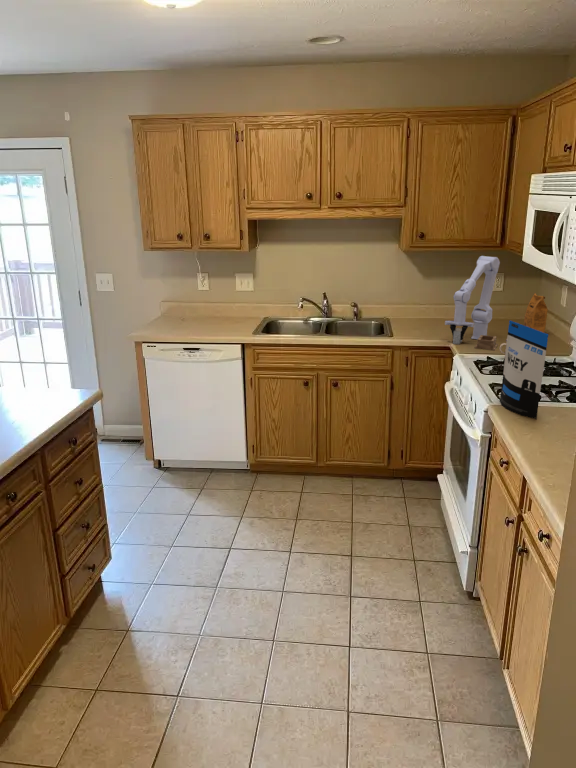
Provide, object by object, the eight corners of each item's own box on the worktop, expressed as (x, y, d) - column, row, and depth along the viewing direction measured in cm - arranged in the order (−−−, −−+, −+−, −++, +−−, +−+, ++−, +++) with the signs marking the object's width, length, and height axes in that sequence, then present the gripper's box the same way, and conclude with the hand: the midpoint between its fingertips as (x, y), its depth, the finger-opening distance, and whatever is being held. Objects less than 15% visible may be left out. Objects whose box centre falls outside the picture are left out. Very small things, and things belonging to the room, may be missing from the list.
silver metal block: (455, 340, 312) (456, 328, 310) (462, 341, 310) (463, 328, 308) (452, 343, 305) (453, 330, 303) (459, 344, 303) (460, 331, 301)
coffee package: (537, 330, 337) (542, 292, 330) (546, 335, 325) (552, 296, 318) (520, 330, 337) (525, 292, 330) (528, 335, 325) (534, 296, 318)
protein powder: (511, 396, 222) (521, 319, 213) (548, 418, 200) (561, 333, 191) (488, 397, 221) (497, 320, 212) (523, 420, 198) (535, 334, 189)
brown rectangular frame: (478, 342, 307) (478, 334, 306) (497, 344, 303) (498, 336, 301) (474, 348, 296) (475, 339, 294) (494, 350, 292) (495, 341, 290)
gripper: (444, 313, 302) (442, 339, 307) (473, 316, 297) (470, 342, 301) (447, 311, 309) (445, 336, 313) (475, 313, 303) (472, 339, 307)
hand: (457, 339), depth 307 cm, fingers closed on silver metal block, 3 cm apart
